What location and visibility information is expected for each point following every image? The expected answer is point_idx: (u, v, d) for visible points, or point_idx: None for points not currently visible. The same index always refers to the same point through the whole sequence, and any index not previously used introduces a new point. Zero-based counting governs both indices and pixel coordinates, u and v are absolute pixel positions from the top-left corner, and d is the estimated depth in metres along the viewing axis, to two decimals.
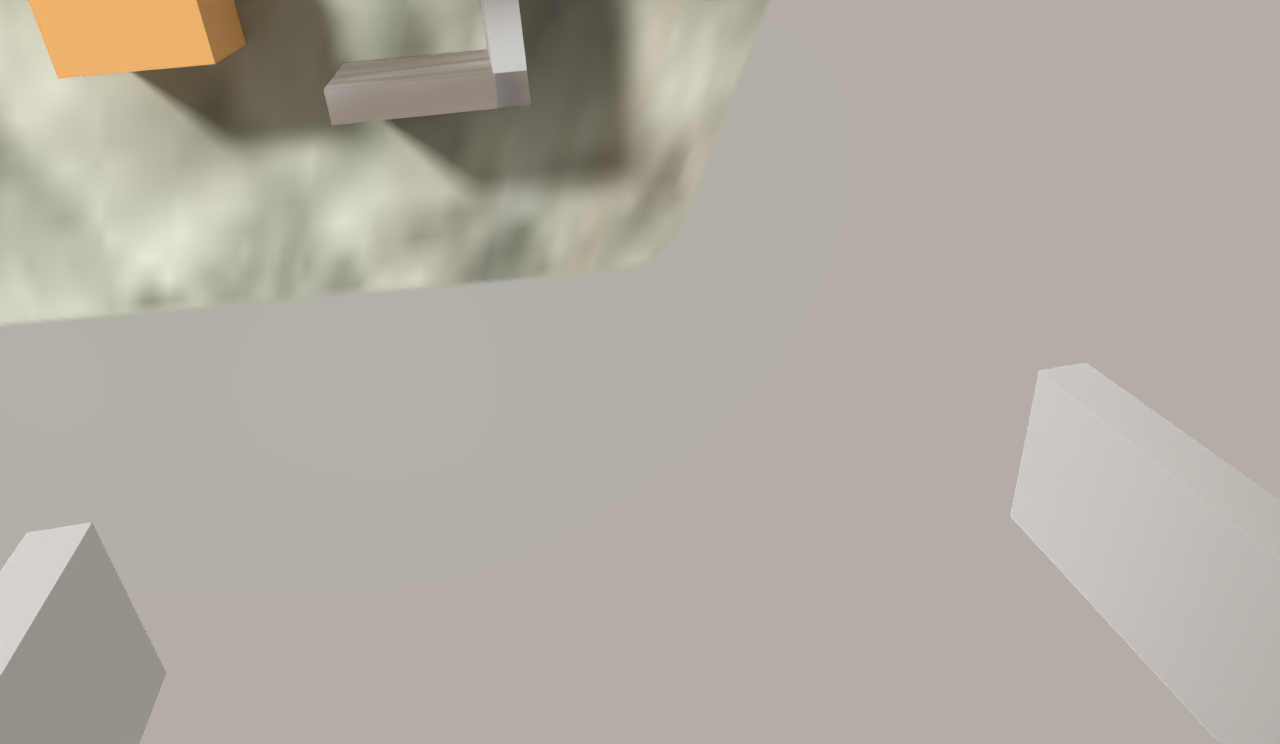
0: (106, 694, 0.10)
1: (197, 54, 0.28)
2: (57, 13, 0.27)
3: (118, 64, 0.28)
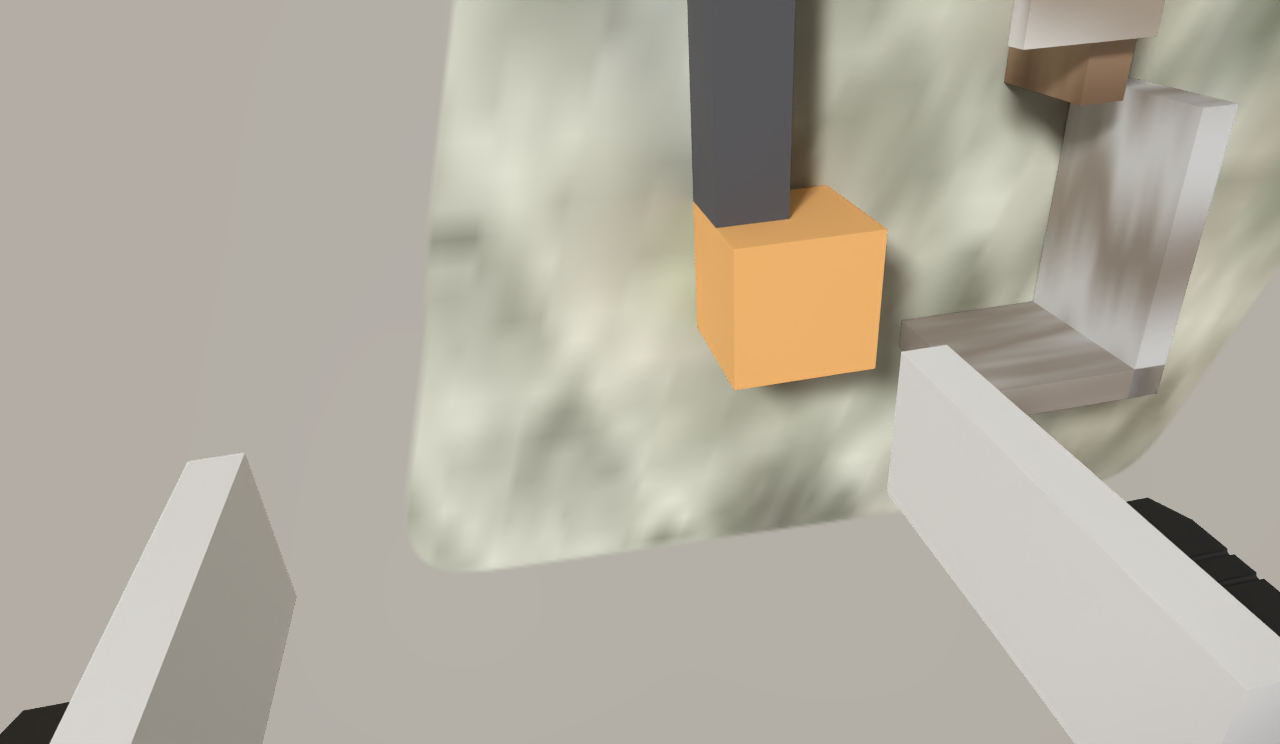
0: (261, 605, 0.11)
1: (863, 361, 0.28)
2: (755, 335, 0.27)
3: (791, 374, 0.28)
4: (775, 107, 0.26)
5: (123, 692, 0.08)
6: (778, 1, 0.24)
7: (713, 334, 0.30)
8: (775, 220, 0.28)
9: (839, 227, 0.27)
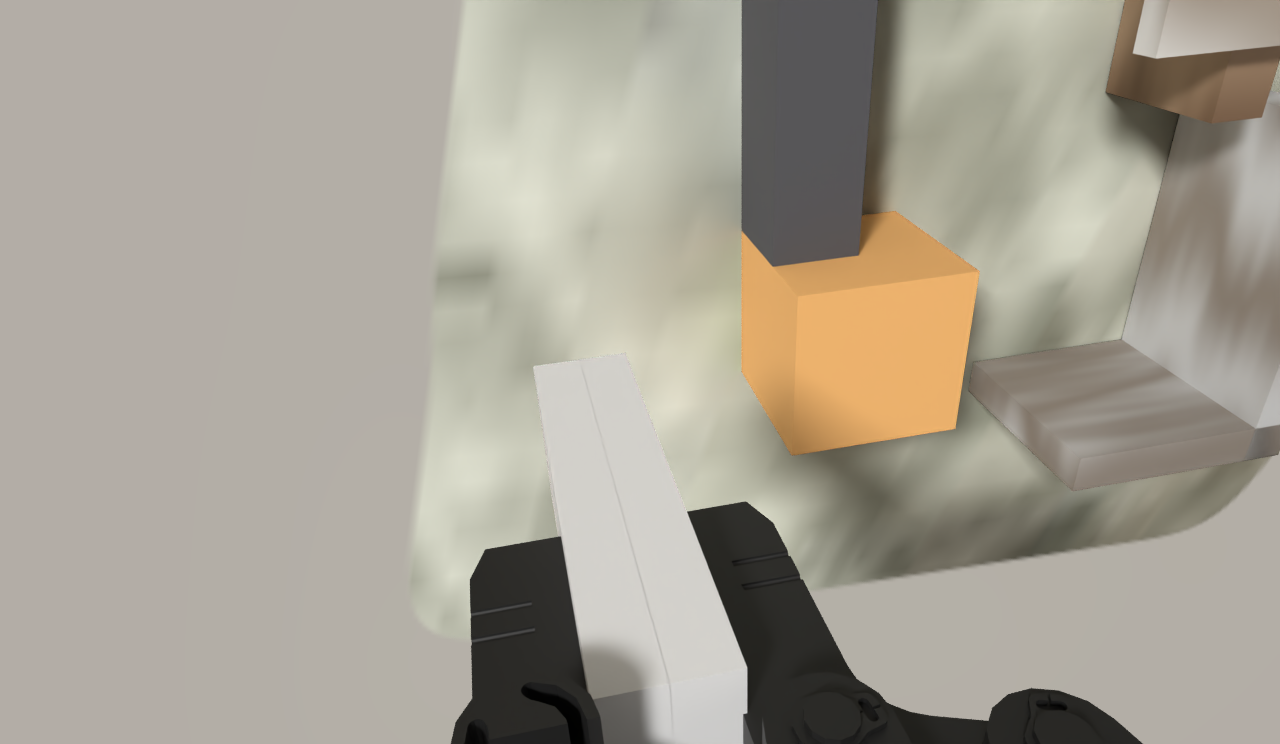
0: None
1: (941, 421, 0.24)
2: (818, 393, 0.23)
3: (858, 437, 0.24)
4: (848, 126, 0.21)
5: (602, 522, 0.10)
6: None
7: (764, 385, 0.26)
8: (842, 257, 0.23)
9: (920, 268, 0.22)
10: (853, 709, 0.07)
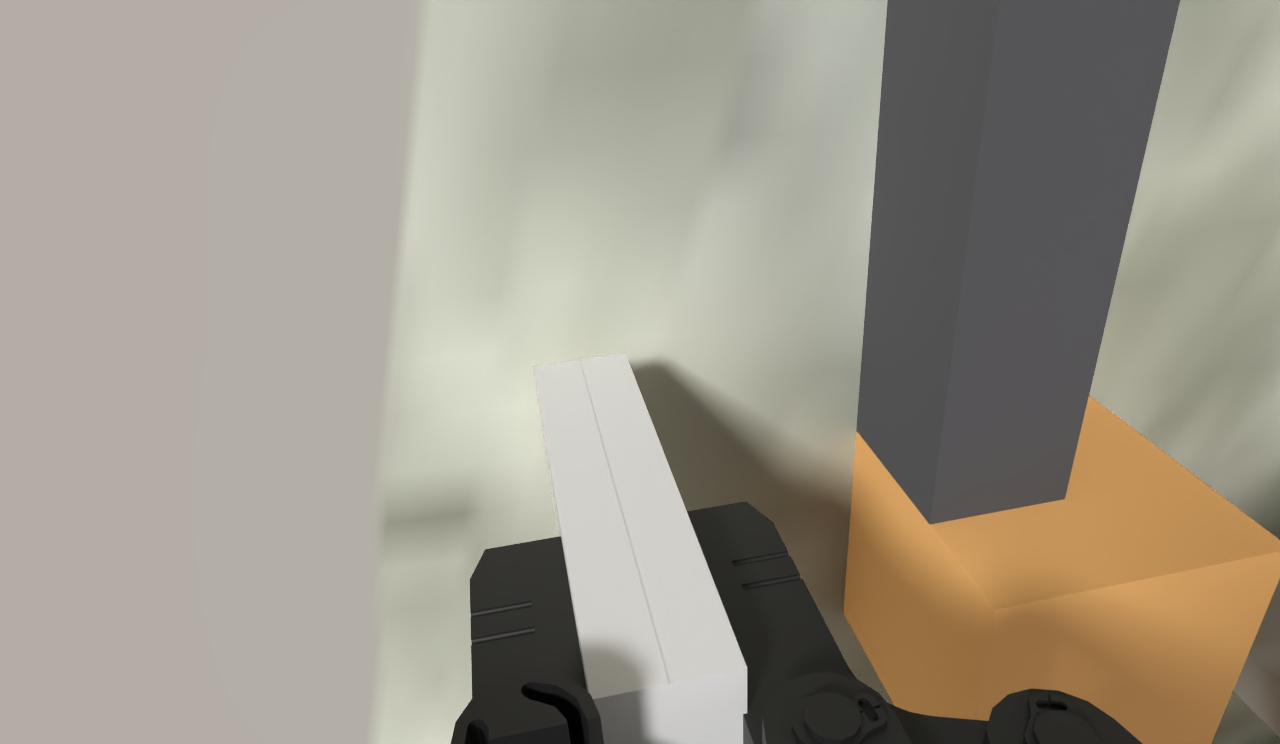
0: None
1: None
2: None
3: None
4: (1076, 312, 0.13)
5: (602, 522, 0.10)
6: (1121, 108, 0.11)
7: (894, 670, 0.17)
8: (1038, 502, 0.14)
9: (1185, 537, 0.13)
10: (853, 709, 0.07)
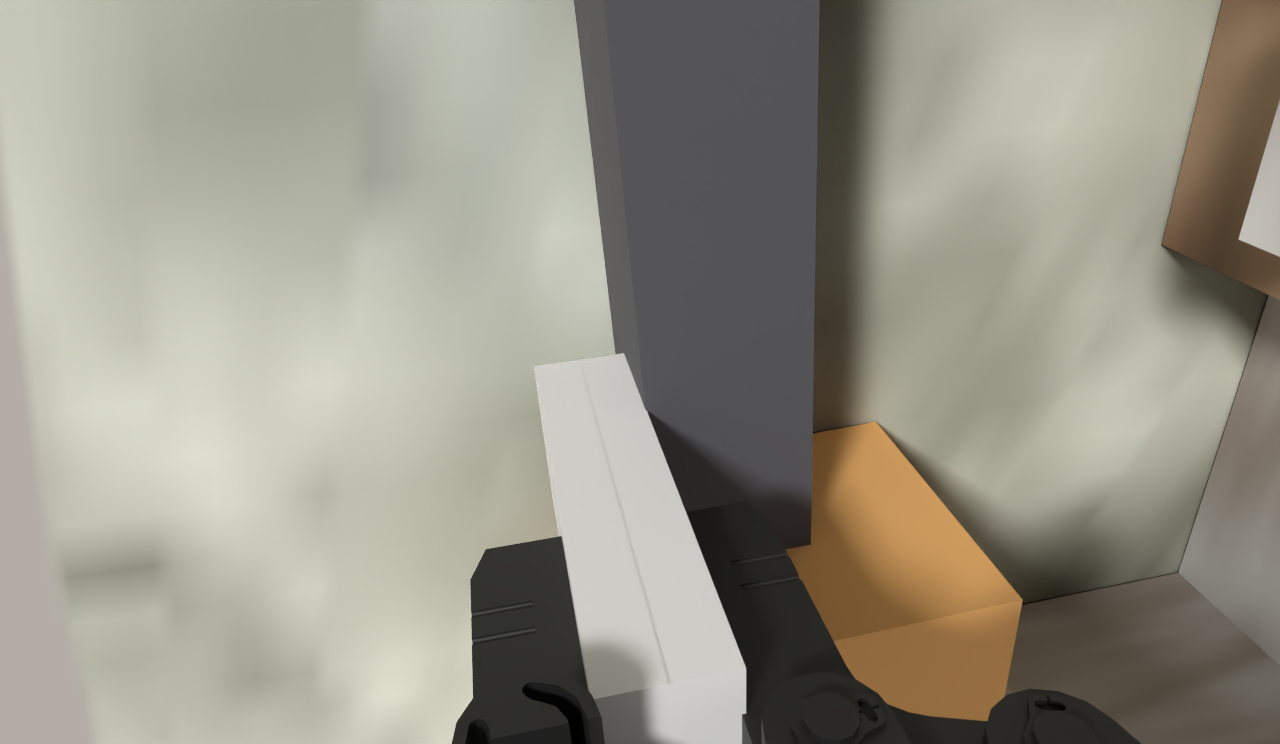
0: None
1: None
2: None
3: None
4: (777, 355, 0.12)
5: (602, 522, 0.10)
6: (778, 144, 0.10)
7: None
8: None
9: (917, 587, 0.13)
10: (852, 709, 0.07)
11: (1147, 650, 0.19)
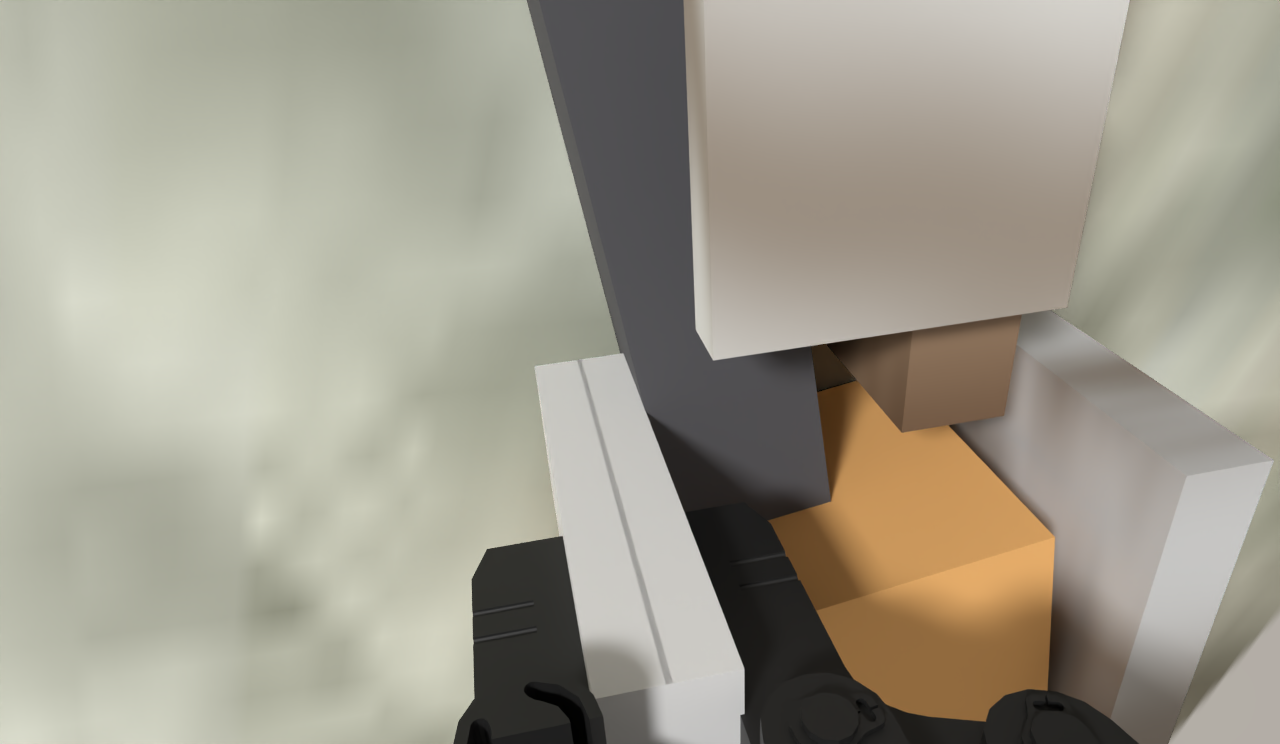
0: None
1: None
2: None
3: None
4: None
5: (603, 522, 0.10)
6: None
7: None
8: (801, 508, 0.13)
9: (944, 535, 0.12)
10: (850, 709, 0.07)
11: None
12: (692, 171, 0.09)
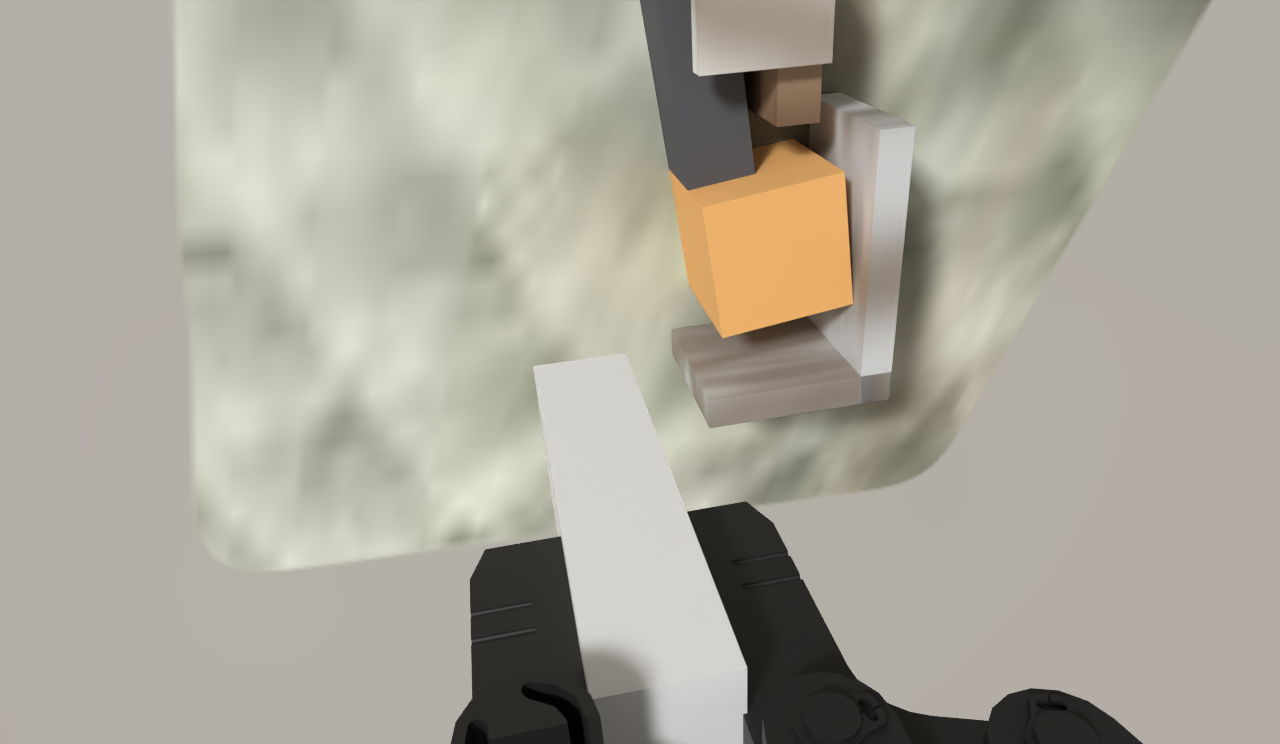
0: None
1: (840, 298, 0.30)
2: (734, 284, 0.29)
3: (773, 318, 0.30)
4: None
5: (601, 522, 0.10)
6: None
7: (700, 290, 0.32)
8: (742, 176, 0.30)
9: (800, 176, 0.29)
10: (853, 709, 0.07)
11: (764, 337, 0.34)
12: (691, 5, 0.25)
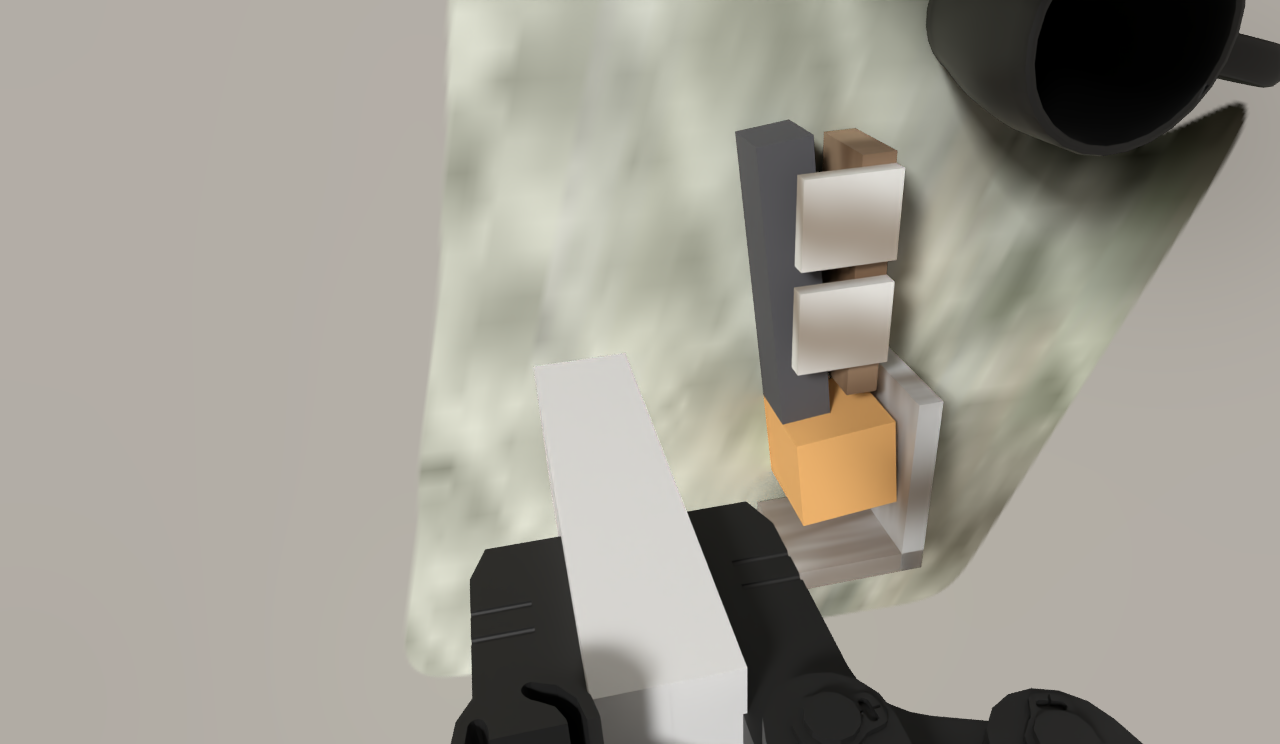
0: None
1: (887, 498, 0.43)
2: (814, 492, 0.41)
3: (840, 512, 0.42)
4: None
5: (602, 522, 0.10)
6: None
7: (785, 483, 0.44)
8: (820, 414, 0.42)
9: (864, 421, 0.41)
10: (852, 709, 0.07)
11: None
12: (793, 330, 0.37)
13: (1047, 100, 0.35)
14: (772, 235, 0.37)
